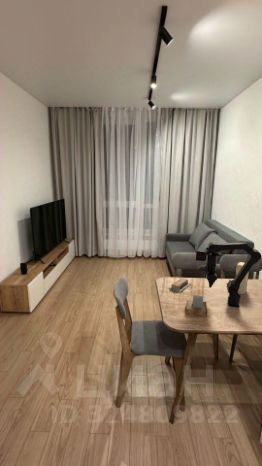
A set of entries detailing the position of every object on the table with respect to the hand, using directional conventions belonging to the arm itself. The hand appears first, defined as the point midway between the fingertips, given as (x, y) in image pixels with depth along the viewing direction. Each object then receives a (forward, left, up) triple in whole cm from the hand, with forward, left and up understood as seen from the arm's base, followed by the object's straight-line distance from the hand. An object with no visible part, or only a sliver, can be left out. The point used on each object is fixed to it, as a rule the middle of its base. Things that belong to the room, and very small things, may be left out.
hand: (209, 284), depth 164 cm
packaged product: (+19, -19, -13) cm, 30 cm away
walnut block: (+8, +14, -12) cm, 20 cm away
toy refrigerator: (-24, -22, -12) cm, 35 cm away
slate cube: (+8, +14, -8) cm, 18 cm away
